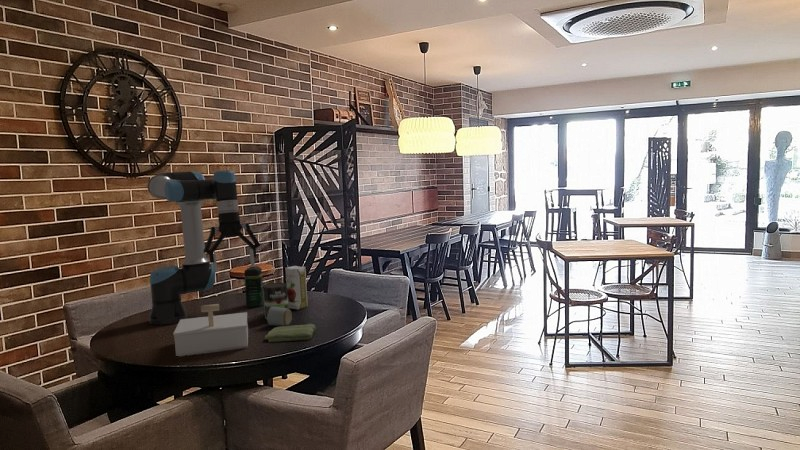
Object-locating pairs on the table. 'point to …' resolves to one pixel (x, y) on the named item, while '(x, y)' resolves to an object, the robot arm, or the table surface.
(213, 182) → the robot arm
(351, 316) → the table surface
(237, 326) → the lid
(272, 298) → the coffee can
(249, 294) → the coffee jar
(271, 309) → the ceramic mug
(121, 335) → the table surface
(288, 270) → the juice carton
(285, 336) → the washcloth
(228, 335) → the box
